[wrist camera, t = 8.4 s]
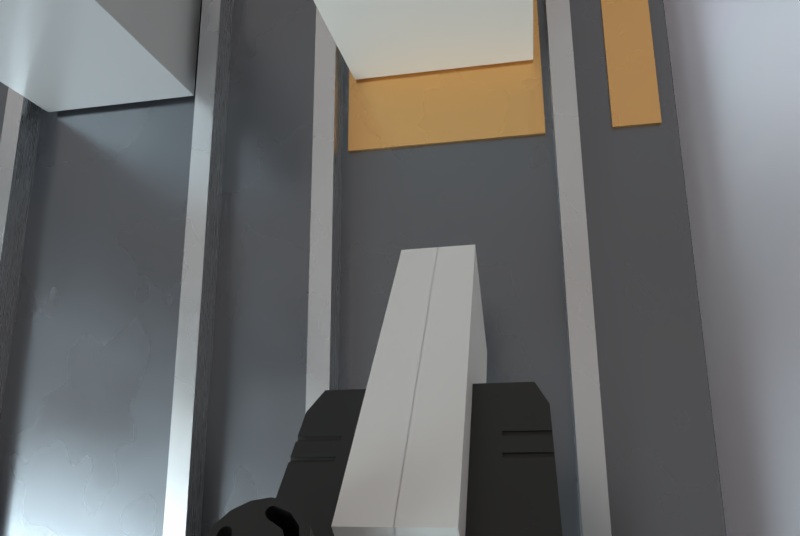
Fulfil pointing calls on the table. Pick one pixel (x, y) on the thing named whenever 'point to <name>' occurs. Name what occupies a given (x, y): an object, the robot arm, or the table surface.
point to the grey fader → (98, 50)
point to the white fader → (428, 34)
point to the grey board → (347, 268)
